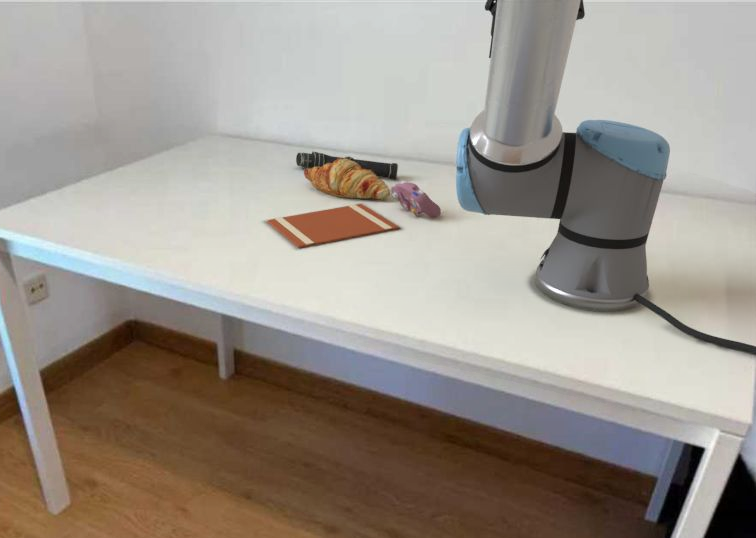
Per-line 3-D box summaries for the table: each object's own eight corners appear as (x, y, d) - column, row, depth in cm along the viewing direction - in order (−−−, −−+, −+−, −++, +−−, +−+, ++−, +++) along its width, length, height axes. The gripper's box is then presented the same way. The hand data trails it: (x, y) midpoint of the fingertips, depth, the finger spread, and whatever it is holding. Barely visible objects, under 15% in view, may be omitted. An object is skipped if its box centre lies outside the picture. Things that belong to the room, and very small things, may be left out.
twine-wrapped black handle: (403, 161, 148) (300, 148, 158) (396, 162, 144) (290, 149, 154) (401, 181, 150) (298, 167, 160) (393, 183, 145) (288, 168, 155)
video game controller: (395, 212, 135) (383, 184, 131) (413, 199, 135) (402, 170, 131) (425, 229, 127) (413, 199, 123) (444, 214, 128) (433, 184, 123)
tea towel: (399, 228, 124) (399, 226, 123) (298, 248, 117) (298, 245, 117) (361, 205, 135) (361, 203, 134) (267, 222, 128) (267, 219, 128)
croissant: (395, 214, 140) (407, 175, 138) (374, 203, 131) (387, 162, 130) (311, 193, 151) (321, 157, 150) (286, 182, 143) (297, 144, 141)
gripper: (632, -93, 94) (598, 71, 105) (511, -86, 114) (493, 51, 125) (590, -92, 92) (559, 76, 103) (473, -86, 112) (458, 55, 123)
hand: (523, 63), depth 114 cm, fingers open, 13 cm apart
